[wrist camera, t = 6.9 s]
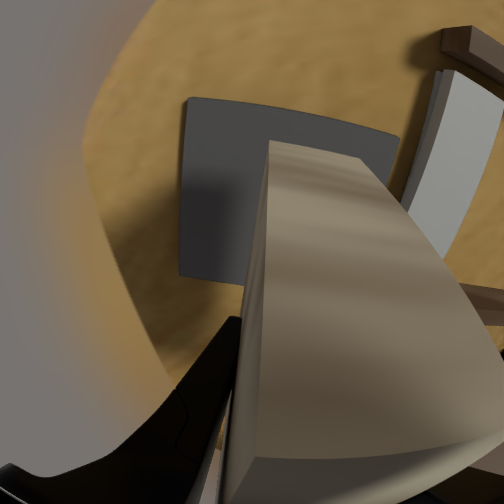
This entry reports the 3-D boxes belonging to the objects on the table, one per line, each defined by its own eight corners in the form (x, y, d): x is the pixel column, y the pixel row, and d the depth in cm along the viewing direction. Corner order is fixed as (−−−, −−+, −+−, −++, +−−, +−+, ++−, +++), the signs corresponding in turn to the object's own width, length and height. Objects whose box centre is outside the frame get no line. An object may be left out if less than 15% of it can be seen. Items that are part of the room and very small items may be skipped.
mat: (342, 293, 21) (344, 299, 20) (180, 270, 20) (178, 275, 20) (395, 135, 15) (400, 138, 14) (191, 96, 14) (188, 97, 14)
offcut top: (426, 265, 18) (433, 276, 17) (378, 254, 18) (383, 265, 17) (493, 99, 12) (505, 102, 11) (443, 69, 12) (455, 70, 11)
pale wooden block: (293, 357, 15) (295, 535, 7) (233, 349, 15) (211, 531, 7) (359, 158, 9) (529, 419, 2) (269, 140, 9) (255, 456, 2)
